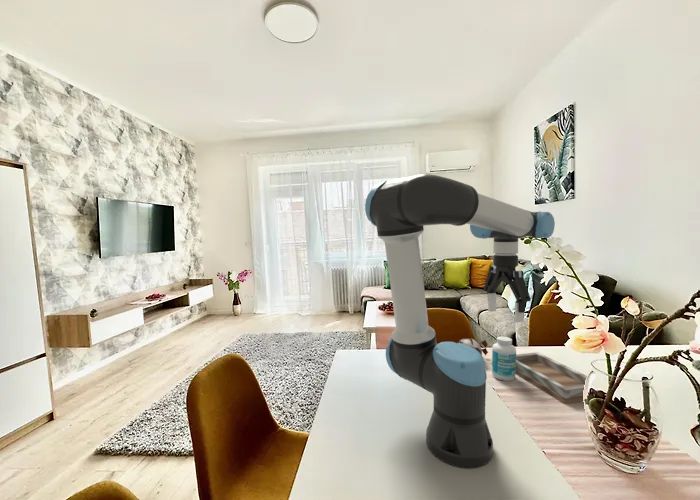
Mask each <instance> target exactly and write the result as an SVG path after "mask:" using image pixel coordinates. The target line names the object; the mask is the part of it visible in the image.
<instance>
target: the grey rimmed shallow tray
mask: <svg viewBox="0 0 700 500" xmlns="http://www.w3.org/2000/svg"><path fill="white" fill-rule="evenodd" d="M515 375H517V376H518V377H520V378H521V379H523V380H525V381H526V382H528V383H529V384H531V385H533V386H535V387H536V388H538V389H539V390H541V391H542V392H544V393H546V394H548V395H549V396H551V397H553V399H556V400H558V401H559V402H560V403H563V404H570V403H576V402H582V401H584V400H583V390H584V385H585V380H586V378H587V376H588V375H586V374H584V373H582V372H581V371H577V370H576V369H573V368H572V367H569V366H567V365H565V364H562V363H561V362H559V361H557V360H554V359H552V358H550V357H548V356H546V355H544V354H542V353H540V352H537V351H536V352H529V353H527V352H526V353H519V354H516V373H515Z"/></svg>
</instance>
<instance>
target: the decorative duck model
mask: <svg viewBox="0 0 700 500" xmlns="http://www.w3.org/2000/svg"><path fill="white" fill-rule="evenodd" d="M457 343H462V344H465V345H467V346H470V347H472V348H474V349H475V350H477V351H478V352H479V353H480V354H481V355H482V356H483V354H484V356H487V355H488V353H489V351H488V350H487V346H488V345H489V344H488V342H487V340H486V339H483V341H481V342H478V341H476V339H474V338H468V337H467V338H460V339H459V340H458V342H457ZM480 344H482V346H483V347H484V348H482V347H481V345H480Z"/></svg>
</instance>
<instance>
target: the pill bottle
mask: <svg viewBox="0 0 700 500" xmlns="http://www.w3.org/2000/svg"><path fill="white" fill-rule="evenodd" d="M491 350H492V351H491V352H492V353H491V354H492V355H491V356H492V357H491V374H492V376H493V377H494V378H496V379H497V380H501V381H505V382H512V381H513V380H515V378H516V374H515V373H516V355H517V348H516V347H515V346H514V345H513V339H512V338H511V337H507V336H498V337H496V343H494V344H493V345H492V349H491Z"/></svg>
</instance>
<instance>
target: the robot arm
mask: <svg viewBox="0 0 700 500" xmlns="http://www.w3.org/2000/svg"><path fill="white" fill-rule="evenodd" d="M365 199H366V200H365V204H364V205H365V206H364V210H365V211H364V212H365V215H366V218H367V219H368V221H369V222H371V224H372V225H374V227H376V231H377V237H378V238H379V239H380V240H382V241H383V242H384V246H385V254H386V255H385V256H386V261H387V269H388V270H387V271H388V278H389V284H390V285H389V286H390V293H391V299H392V306H393V316H394V322H395V323H394V324H395V328H394V330H392V332H391V337H390V338H389V339H388V342H387V344H388V345H387V346H386V348H385V359H386V363H387V365H388V367H389V369H390V370H391V371H392V372H393V373H395V374H396V375H397V376H399V377H400V378H401V379H403V380H406V381H408V382H410V383H412V384H414V385H416V386H418V387H420V388H422V389H423V390H425V391H427V392H429V393H431V394H432V395H433V411H432V413H431V416H430V419H429V422H428V425H427V427H426V433H425V441H426V442H425V443H426V445H427V449H429V451H430V452H431V454H433V455H434V456H435V457H436V458H438V459H439V460H441V461H442V462H445V463H447V464H448V465H452V466H453V467H459V468H464V467H465V468H466V469H467V468H468V469H470V468H469V467H474V468H479V467H478V466H480V467H482V465H483V466H485V465H486V464H488V463H489V462H490V461H491V460H492V459H493V456H494V455H493V454H494V442H493V438H492V435H491V433H490V430H489V429H490V428H489V425H488V423H487V420H486V397H487V395H486V393H487V391H486V390H487V387H486V386H487V378H488V377H487V370H486V368H487V367H486V361H485V359H484V356H483V354H482V355H481V354H480V353H479V352H478V351H477V350H475V349H474V348H472V347H470V346H467V345H465V344H462V343H460V342H459V343H458V342H454V341H441V342H439V343H437V337H436V335H437V334H436V331H435V329H434V328H433V327H431V326H430V325H429V318H428V309H427V301H426V294H425V285H424V284H425V283H424V275H423V266H422V258H421V249H420V236H421V235H422V233H423V232H424V230H425V229H424V228H425V227H424V226H434V225H435V226H436V225H452V226H455V227H456V226H457V227H460V226H461V227H462V226H465V225H466V224H467V225H469V231H470V233H471V234H472V235H473V237H475V238H477V239H483V240H484V239H485V240H486V239H493V246H492V247H493V253H494V255H493V259H492V260H493V266H489V269H488V270H489V271H488V274H487V277H486V280H485V283H484V286H483V290H484V291H486V293H487V311H488V312H489V313H491V312H497V293H496V292H497V291H496V290H497V289H498V288H499V286H500V285H501V283H502V282H503V283H505V284H507V285H508V286H509V288H510V289H511V291H512V294H513V296H514V297H515V302H514V322H515V323H524V321H525V312H526V303H527V302H531V296H530V293H529V290H528V287H527V286H528V285H527V284H526V281H525V277H524V276H525V275H524V271H523V270H516V268H517V267H518V266H519V255H517V254H519V239H523V238H522V237H526V236H532V237H535V238H542V237H544V238H547V239H549V238H550V237H552V235H553V234H554V232H555V224H556V223H555V217H554V216H553V214H552V213H551V212H549V211H530V210H527V209H524V208H520V207H518V206H515V205H513V204H509V203H507V202H504V201H501V200H498V199H495V198H492V197H489V196H487V195H484V194H481V193H478V191H477V190H476V189H475V188H474V187H473V186H472V185H469V184H466V183H464V182H461V181H459V180H456V179H452V178H448V177H445V176H439V175H435V174H429V173H421V174H416V175H412V176H407V177H400V178H395V179H394V178H393V179H387V180H385V181H382V182H379V183H377V184H375V185H374V186H373V187H372V188H371V190H370V191H369V192H368V194H367V196H366V198H365Z"/></svg>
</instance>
